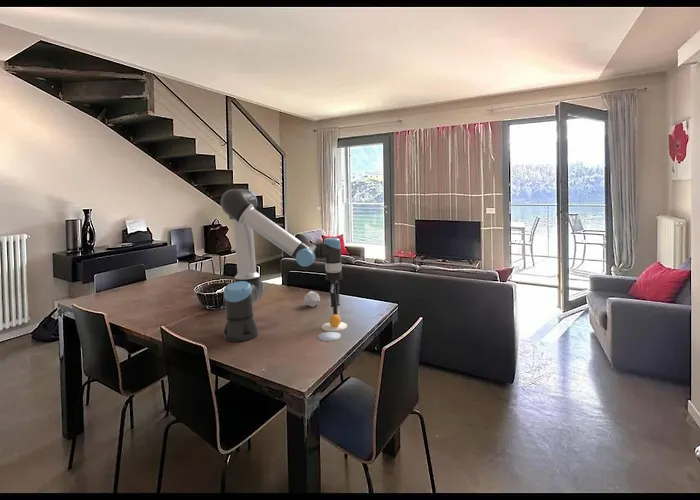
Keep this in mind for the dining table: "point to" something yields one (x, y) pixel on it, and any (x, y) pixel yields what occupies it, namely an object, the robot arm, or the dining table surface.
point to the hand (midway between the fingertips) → (336, 319)
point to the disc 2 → (329, 336)
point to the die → (311, 298)
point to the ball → (334, 320)
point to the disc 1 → (331, 328)
